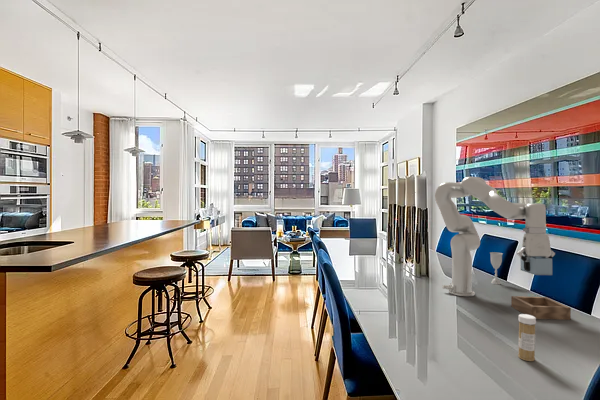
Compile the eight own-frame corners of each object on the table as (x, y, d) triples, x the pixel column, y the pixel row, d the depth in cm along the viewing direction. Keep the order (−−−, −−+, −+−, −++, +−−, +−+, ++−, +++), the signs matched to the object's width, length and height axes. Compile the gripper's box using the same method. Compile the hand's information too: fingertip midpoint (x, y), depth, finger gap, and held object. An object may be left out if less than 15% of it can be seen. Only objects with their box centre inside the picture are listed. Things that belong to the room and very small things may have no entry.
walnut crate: (531, 318, 145) (532, 306, 145) (511, 306, 161) (511, 296, 161) (570, 319, 144) (570, 307, 144) (546, 307, 160) (546, 297, 160)
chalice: (504, 285, 202) (504, 254, 201) (491, 284, 203) (492, 253, 203) (499, 282, 209) (500, 252, 209) (487, 281, 210) (488, 251, 210)
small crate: (535, 275, 149) (535, 258, 149) (520, 270, 160) (520, 255, 160) (552, 275, 149) (552, 258, 149) (536, 270, 160) (536, 255, 160)
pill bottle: (519, 353, 112) (520, 312, 111) (536, 358, 108) (537, 315, 108) (516, 358, 108) (517, 315, 108) (533, 363, 105) (534, 319, 105)
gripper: (520, 231, 151) (521, 272, 151) (561, 231, 150) (562, 272, 150) (510, 230, 159) (511, 269, 158) (549, 230, 158) (550, 269, 158)
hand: (536, 270), depth 154 cm, fingers closed on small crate, 7 cm apart
